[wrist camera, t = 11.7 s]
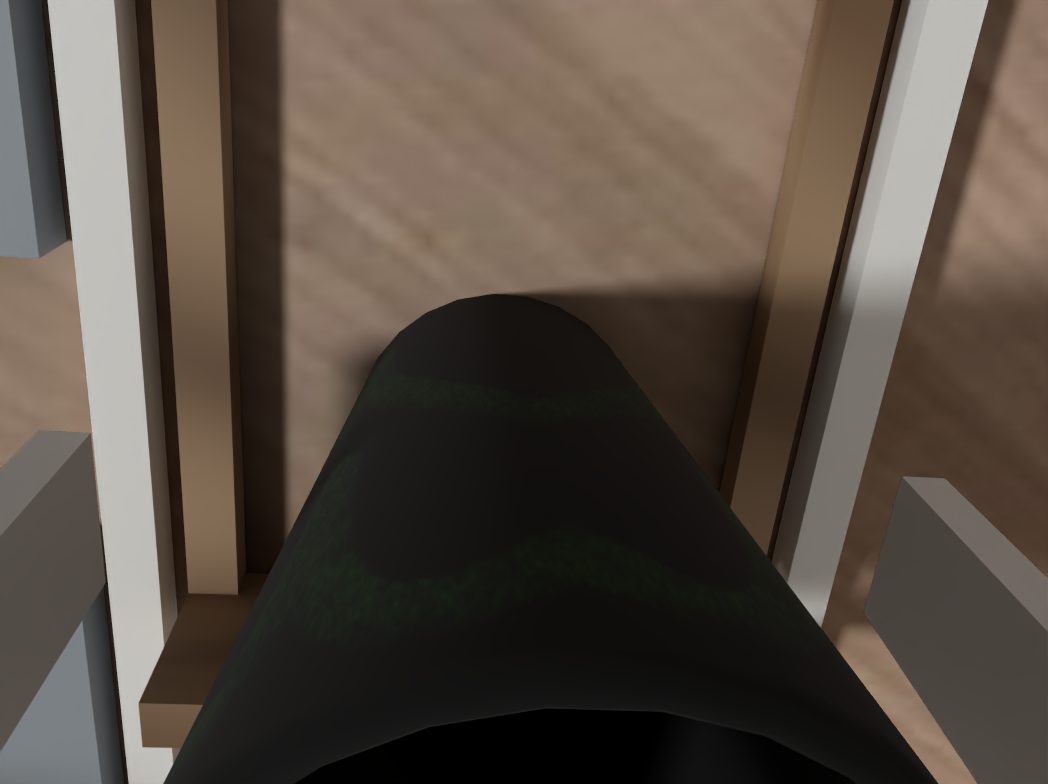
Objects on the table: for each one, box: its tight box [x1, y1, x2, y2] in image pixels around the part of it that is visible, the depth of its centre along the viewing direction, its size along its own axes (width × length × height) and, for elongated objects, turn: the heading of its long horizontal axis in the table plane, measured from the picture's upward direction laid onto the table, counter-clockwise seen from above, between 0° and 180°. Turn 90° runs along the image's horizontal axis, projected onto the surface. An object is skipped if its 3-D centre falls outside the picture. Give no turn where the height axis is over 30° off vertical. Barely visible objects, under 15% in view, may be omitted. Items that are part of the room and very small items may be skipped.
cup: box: [163, 294, 938, 784], centre depth 13 cm, size 8×8×12 cm
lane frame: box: [0, 0, 988, 784], centre depth 18 cm, size 34×23×1 cm
